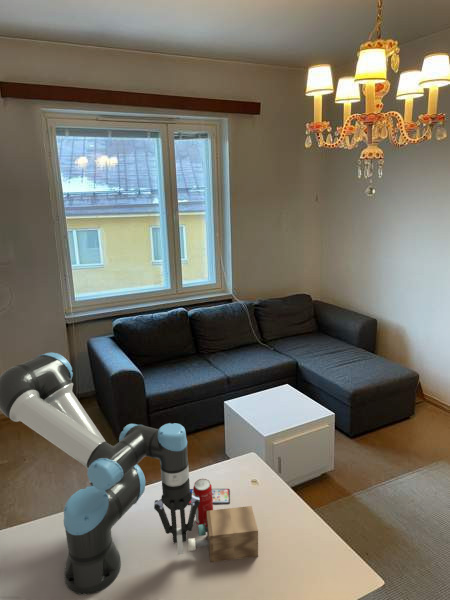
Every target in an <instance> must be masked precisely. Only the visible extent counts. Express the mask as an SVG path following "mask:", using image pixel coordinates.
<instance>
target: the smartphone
mask: <svg viewBox="0 0 450 600" xmlns="http://www.w3.org/2000/svg"><path fill="white" fill-rule="evenodd" d="M190 491H191V493H192V495H193V496H194V490H193V488H190ZM212 500H213V506H214V505H215V506H216V505H230V503H231V490H230V488H212ZM191 505H192V504H191V501H190V502H189V503H188V505H187V506H191Z"/></svg>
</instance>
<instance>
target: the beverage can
mask: <svg viewBox="0 0 450 600" xmlns="http://www.w3.org/2000/svg"><path fill="white" fill-rule="evenodd" d="M192 489H193V490H194V496H195V497H196V496H199V498H200V504H199V506H198V507H197V509H196V514H195V523H196V525H197V526H198V525H201V524H205V527H207V511H209V510H214V505H213V500H212V489H213V487H212V484H211V481H210V480H209V479H207V478H199V479H197V480H196V481H195V482H194V484H193V488H192Z"/></svg>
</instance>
